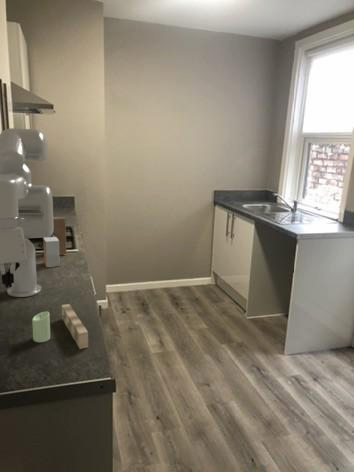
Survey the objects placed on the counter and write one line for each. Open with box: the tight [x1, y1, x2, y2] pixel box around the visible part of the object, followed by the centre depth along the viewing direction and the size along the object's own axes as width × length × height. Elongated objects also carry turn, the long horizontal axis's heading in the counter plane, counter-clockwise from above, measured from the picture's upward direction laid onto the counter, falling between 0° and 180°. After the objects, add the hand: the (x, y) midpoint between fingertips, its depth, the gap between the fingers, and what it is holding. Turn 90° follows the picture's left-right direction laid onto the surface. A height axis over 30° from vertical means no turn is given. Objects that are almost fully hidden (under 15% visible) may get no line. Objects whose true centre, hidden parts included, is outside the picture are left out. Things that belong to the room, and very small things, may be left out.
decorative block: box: [43, 216, 67, 256], centre depth 199 cm, size 11×6×20 cm, turn 113°
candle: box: [31, 311, 51, 343], centre depth 117 cm, size 5×5×8 cm
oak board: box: [61, 303, 89, 350], centre depth 122 cm, size 22×2×5 cm, turn 30°
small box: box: [42, 236, 61, 268], centre depth 184 cm, size 8×6×13 cm
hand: (8, 285), depth 109 cm, fingers closed
